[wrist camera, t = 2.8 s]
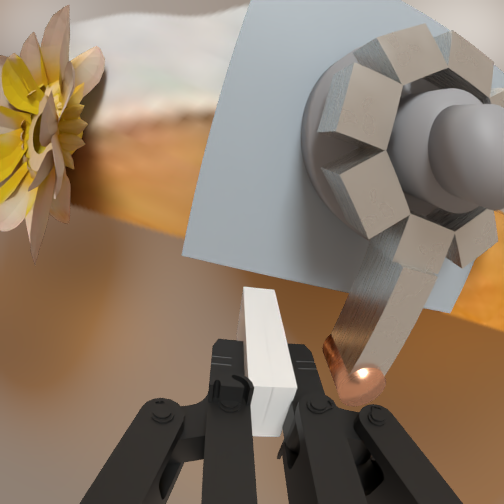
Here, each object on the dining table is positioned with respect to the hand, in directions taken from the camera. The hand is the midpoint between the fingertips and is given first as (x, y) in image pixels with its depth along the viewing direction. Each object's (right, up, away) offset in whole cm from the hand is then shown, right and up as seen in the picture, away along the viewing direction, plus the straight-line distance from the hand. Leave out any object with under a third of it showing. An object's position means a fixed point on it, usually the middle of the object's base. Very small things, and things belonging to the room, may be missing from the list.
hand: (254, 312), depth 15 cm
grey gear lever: (+8, +5, +1) cm, 10 cm away
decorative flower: (-14, +12, +2) cm, 19 cm away
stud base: (+9, +11, +4) cm, 15 cm away
